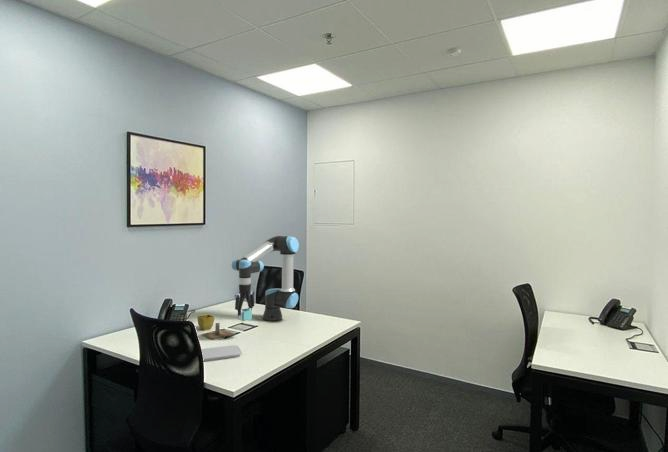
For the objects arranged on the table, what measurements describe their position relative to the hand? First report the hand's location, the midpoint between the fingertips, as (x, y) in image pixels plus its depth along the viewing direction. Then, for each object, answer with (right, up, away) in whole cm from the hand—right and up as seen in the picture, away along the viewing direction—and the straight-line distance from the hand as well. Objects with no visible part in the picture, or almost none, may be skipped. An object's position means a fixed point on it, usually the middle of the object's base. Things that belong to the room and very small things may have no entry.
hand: (244, 318), depth 249 cm
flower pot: (-31, -12, +17) cm, 38 cm away
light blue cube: (0, 0, 0) cm, 0 cm away
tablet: (-9, -14, -31) cm, 35 cm away
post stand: (-20, -12, +5) cm, 23 cm away
